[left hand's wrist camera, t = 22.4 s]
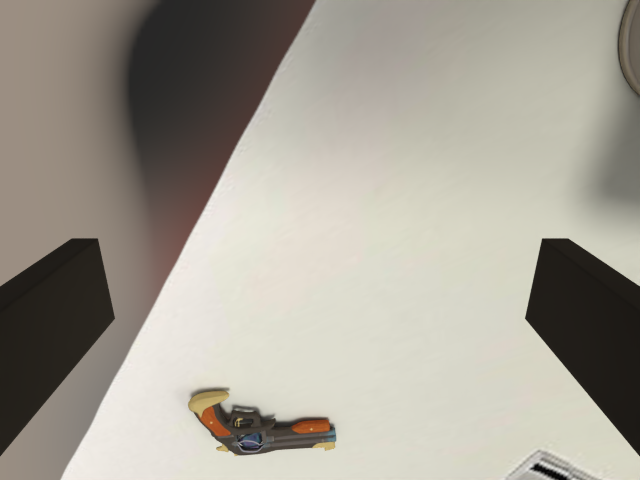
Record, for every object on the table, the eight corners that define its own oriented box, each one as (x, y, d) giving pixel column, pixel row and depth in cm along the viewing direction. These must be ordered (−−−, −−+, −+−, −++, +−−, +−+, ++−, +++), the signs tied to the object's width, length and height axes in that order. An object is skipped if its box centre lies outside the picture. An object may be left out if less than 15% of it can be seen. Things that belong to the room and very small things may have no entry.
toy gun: (184, 402, 53) (194, 467, 55) (334, 390, 54) (337, 455, 56) (189, 389, 55) (199, 452, 58) (332, 378, 56) (335, 440, 59)
